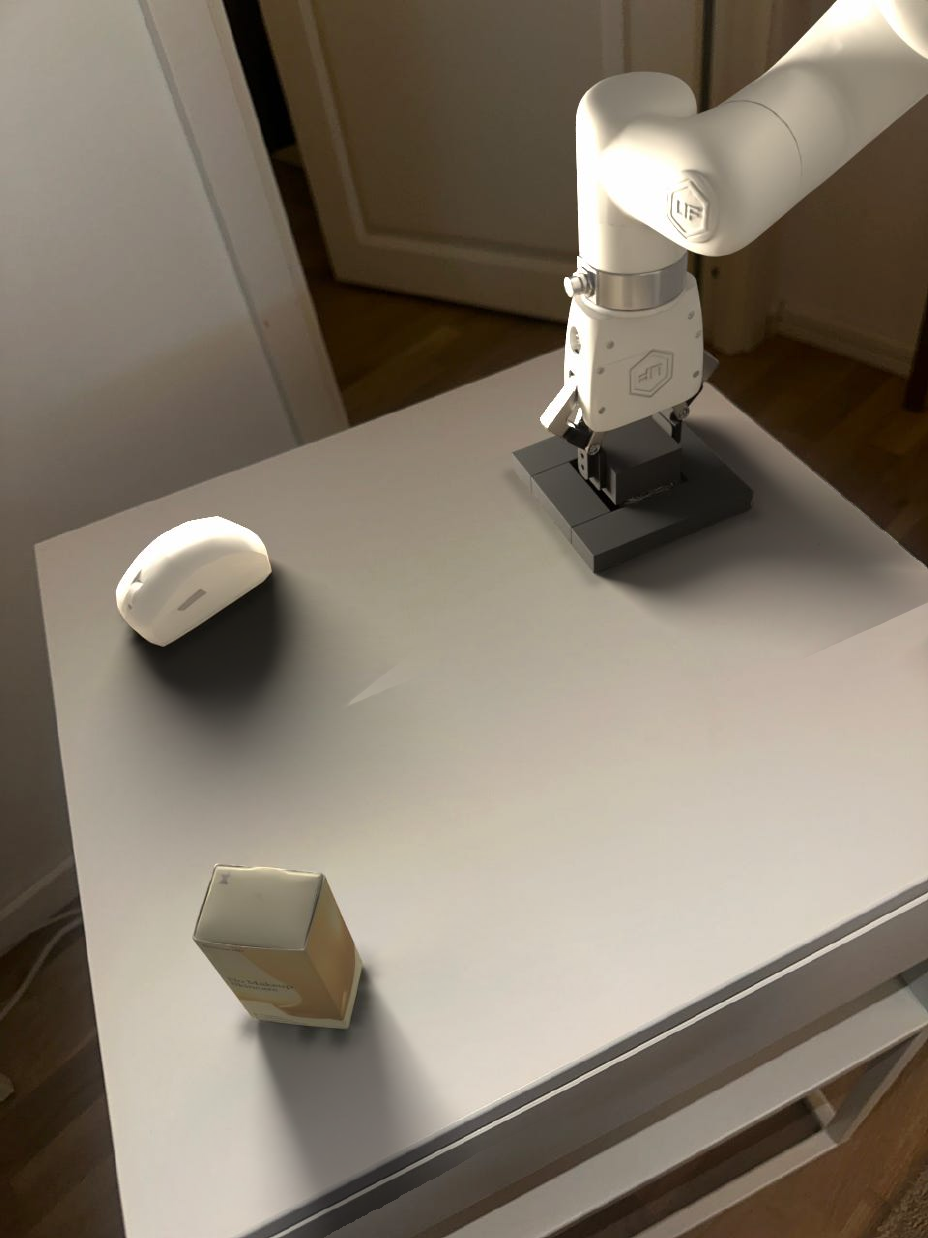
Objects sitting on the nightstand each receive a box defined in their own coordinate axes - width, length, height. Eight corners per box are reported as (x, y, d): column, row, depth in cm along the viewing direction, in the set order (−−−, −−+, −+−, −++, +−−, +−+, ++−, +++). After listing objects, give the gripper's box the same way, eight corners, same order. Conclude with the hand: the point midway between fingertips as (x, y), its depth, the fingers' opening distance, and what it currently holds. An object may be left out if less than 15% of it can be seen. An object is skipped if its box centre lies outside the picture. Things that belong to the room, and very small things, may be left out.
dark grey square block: (641, 439, 85) (642, 407, 82) (680, 479, 81) (682, 447, 78) (579, 463, 84) (578, 432, 81) (615, 505, 80) (615, 474, 77)
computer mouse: (117, 616, 81) (86, 565, 76) (244, 534, 86) (222, 481, 81) (155, 657, 77) (125, 606, 72) (285, 569, 82) (265, 515, 77)
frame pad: (656, 413, 90) (657, 396, 88) (751, 508, 81) (754, 490, 79) (512, 469, 87) (511, 452, 86) (594, 574, 78) (593, 556, 76)
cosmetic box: (250, 1020, 57) (182, 940, 48) (269, 949, 60) (209, 860, 51) (354, 1032, 56) (305, 952, 47) (368, 959, 59) (325, 870, 50)
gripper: (549, 335, 64) (560, 528, 78) (768, 255, 68) (742, 454, 81) (501, 285, 69) (519, 476, 83) (707, 213, 72) (692, 408, 86)
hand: (629, 463), depth 82 cm, fingers closed on dark grey square block, 6 cm apart
